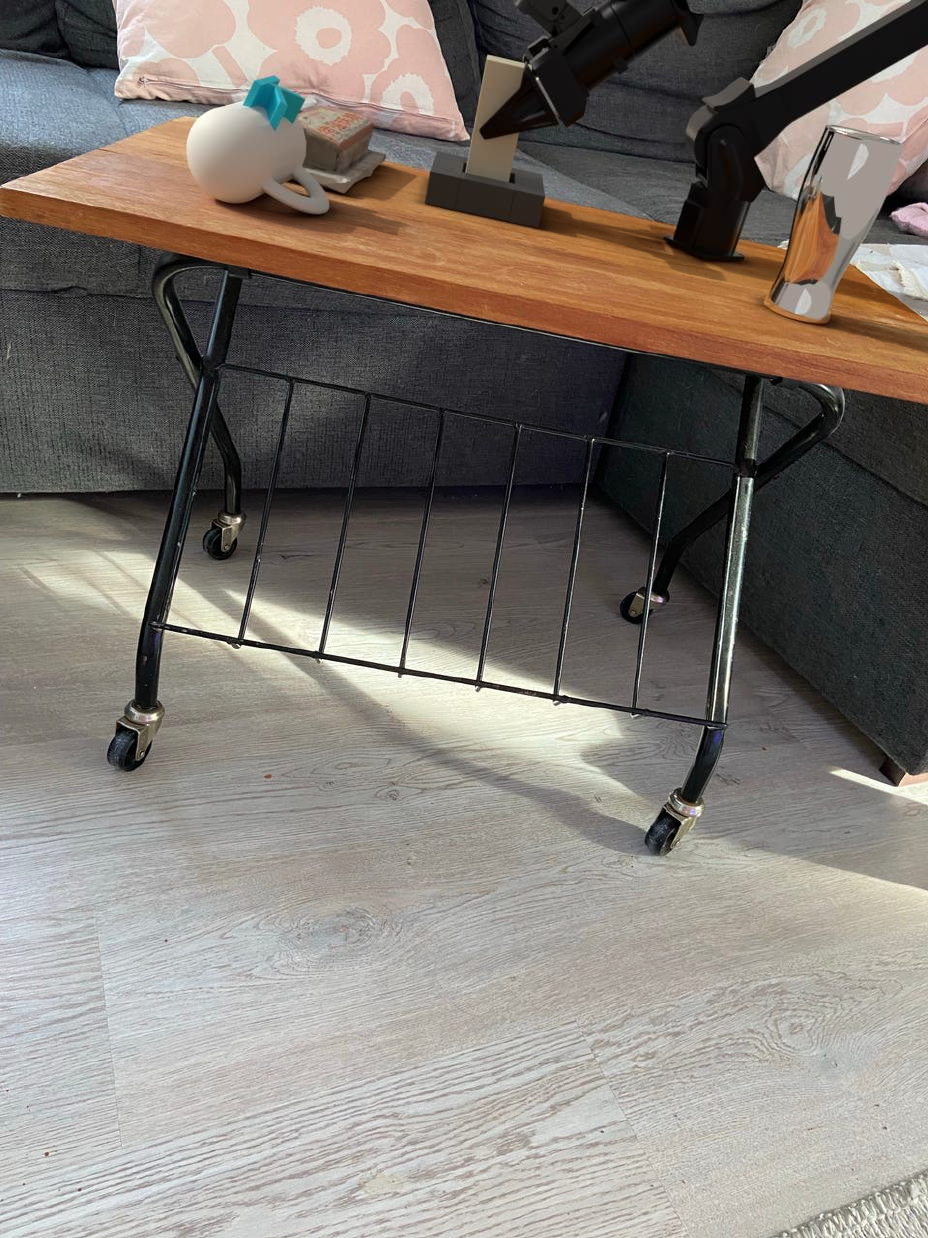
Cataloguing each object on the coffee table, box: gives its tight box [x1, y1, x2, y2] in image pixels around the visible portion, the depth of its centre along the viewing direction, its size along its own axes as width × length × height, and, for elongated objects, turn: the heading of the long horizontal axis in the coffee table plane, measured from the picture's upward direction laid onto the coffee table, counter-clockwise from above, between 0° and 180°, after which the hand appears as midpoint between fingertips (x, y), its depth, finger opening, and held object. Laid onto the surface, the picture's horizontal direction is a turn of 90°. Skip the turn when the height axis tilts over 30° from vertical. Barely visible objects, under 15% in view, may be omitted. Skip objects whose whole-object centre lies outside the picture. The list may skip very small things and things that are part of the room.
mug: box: [185, 74, 330, 215], centre depth 83 cm, size 12×9×12 cm
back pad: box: [466, 54, 532, 182], centre depth 98 cm, size 4×4×13 cm
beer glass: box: [763, 124, 905, 325], centre depth 86 cm, size 7×7×15 cm
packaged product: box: [290, 105, 387, 194], centre depth 99 cm, size 18×5×10 cm
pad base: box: [424, 150, 546, 229], centre depth 101 cm, size 11×11×3 cm
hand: (482, 130), depth 98 cm, fingers closed on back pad, 4 cm apart
